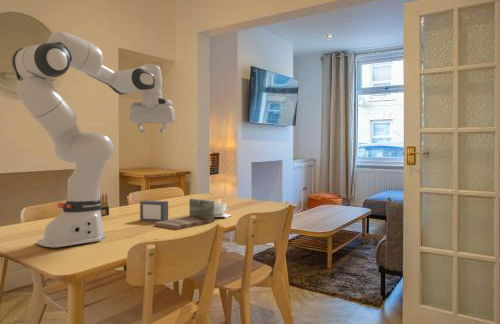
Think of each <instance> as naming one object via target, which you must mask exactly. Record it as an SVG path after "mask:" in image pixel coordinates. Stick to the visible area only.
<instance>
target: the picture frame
mask: <svg viewBox="0 0 500 324" xmlns="http://www.w3.org/2000/svg"><path fill="white" fill-rule="evenodd" d="M139 215H140V216H139V220H140V221H142V222H150V223H151V222H153V223H154V222H159V221H165V220H169V201H168V200H147V199H145V200H141V201H139Z"/></svg>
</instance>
